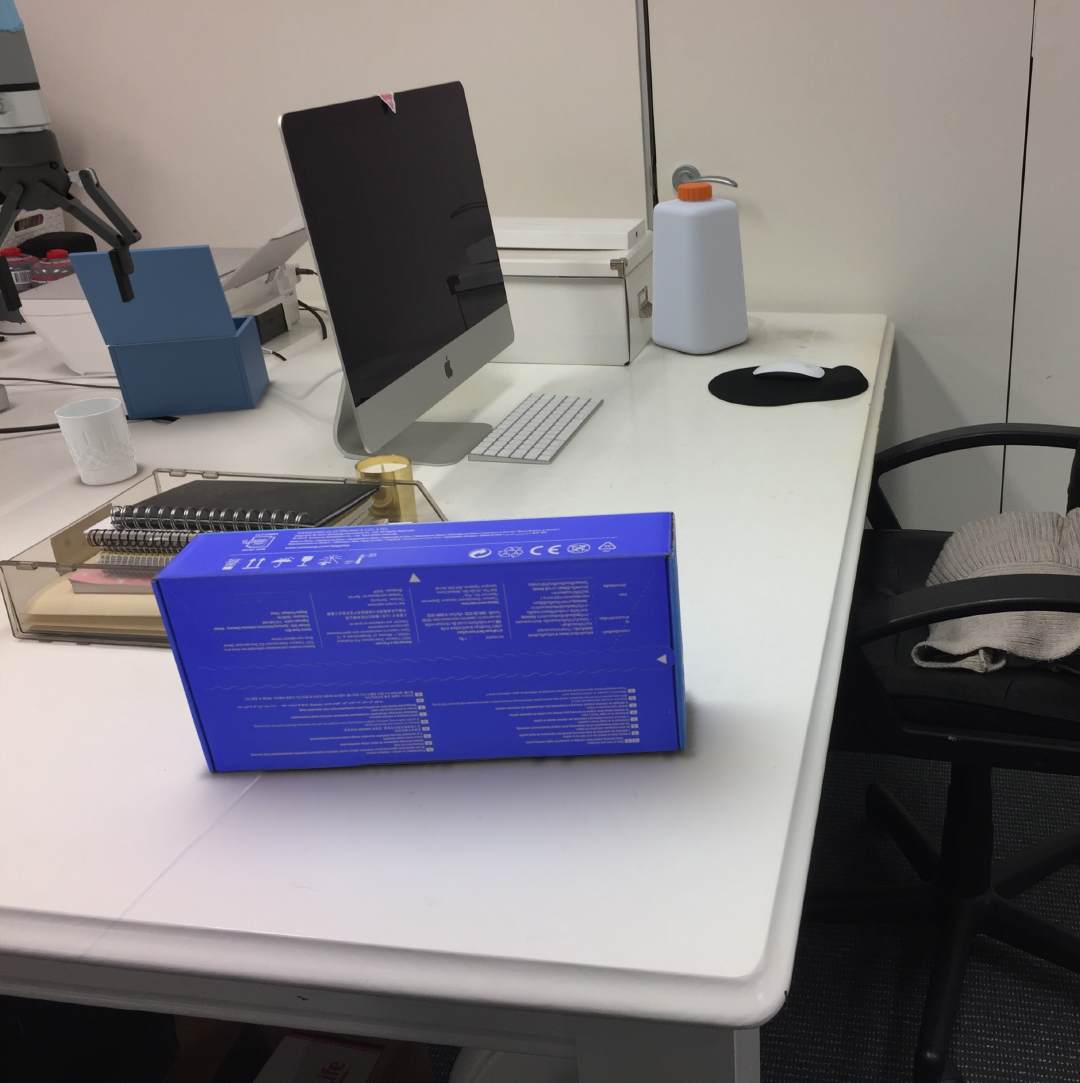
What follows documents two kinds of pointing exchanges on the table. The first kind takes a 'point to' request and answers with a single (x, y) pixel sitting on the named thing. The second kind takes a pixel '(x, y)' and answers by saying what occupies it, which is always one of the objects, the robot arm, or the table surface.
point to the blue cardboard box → (429, 641)
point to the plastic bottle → (697, 273)
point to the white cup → (98, 439)
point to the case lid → (156, 295)
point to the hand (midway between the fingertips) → (72, 304)
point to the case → (192, 373)
